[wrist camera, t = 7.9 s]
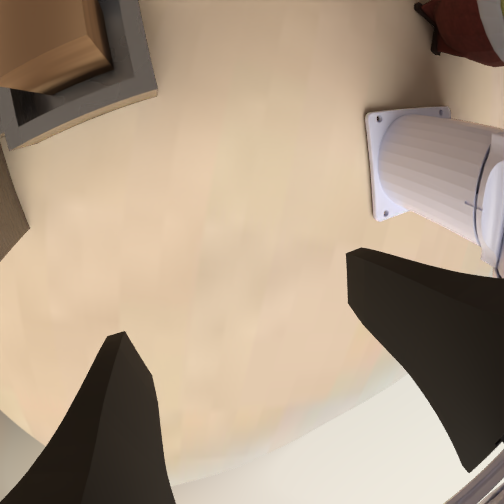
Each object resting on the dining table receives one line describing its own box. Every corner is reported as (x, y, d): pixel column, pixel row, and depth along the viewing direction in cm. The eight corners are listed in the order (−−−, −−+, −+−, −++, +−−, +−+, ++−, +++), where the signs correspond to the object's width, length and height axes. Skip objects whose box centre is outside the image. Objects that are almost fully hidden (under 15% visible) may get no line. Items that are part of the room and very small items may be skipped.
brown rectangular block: (103, 12, 11) (76, -48, 4) (114, 69, 12) (86, 34, 6) (40, 38, 10) (-18, 0, 4) (51, 95, 12) (-12, 85, 6)
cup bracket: (124, -63, 9) (122, -108, 4) (177, 171, 16) (186, 191, 12) (-33, 11, 7) (-71, -7, 2) (15, 235, 14) (-19, 273, 10)
